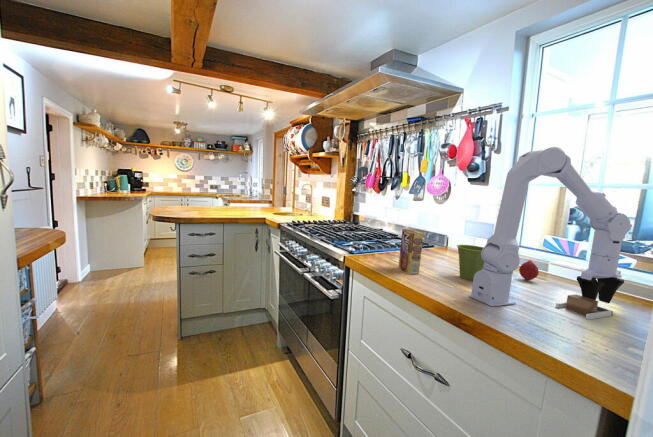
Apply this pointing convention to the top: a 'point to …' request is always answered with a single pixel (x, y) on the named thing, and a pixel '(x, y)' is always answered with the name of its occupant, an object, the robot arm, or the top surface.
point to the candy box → (410, 251)
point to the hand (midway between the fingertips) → (596, 303)
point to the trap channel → (599, 313)
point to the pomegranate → (528, 270)
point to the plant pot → (469, 261)
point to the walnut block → (581, 304)
